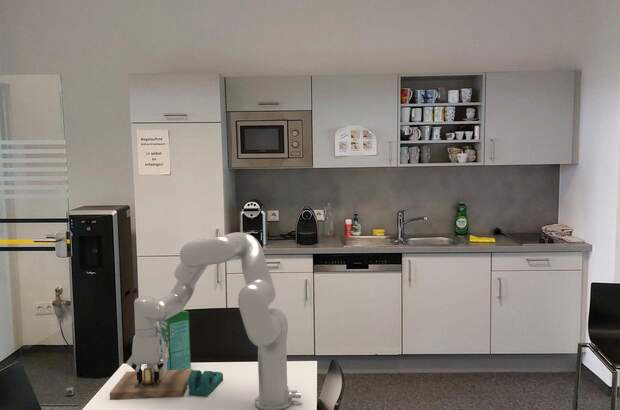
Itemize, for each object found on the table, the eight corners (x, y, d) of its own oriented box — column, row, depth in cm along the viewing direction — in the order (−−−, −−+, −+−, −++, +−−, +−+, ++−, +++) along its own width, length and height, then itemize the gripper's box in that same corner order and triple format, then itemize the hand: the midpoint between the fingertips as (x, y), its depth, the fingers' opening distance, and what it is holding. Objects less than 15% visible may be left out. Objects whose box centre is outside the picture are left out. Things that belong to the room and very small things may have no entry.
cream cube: (163, 377, 201) (163, 361, 201) (147, 377, 201) (146, 361, 201) (167, 371, 207) (166, 355, 207) (151, 371, 207) (150, 356, 207)
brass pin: (152, 392, 194) (151, 370, 193) (143, 392, 194) (142, 370, 193) (154, 388, 197) (153, 367, 196) (145, 389, 197) (144, 367, 196)
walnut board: (192, 375, 209) (192, 369, 209) (183, 397, 189) (182, 390, 189) (126, 378, 208) (126, 371, 208) (110, 399, 188) (109, 392, 188)
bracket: (207, 397, 189) (206, 375, 188) (188, 396, 190) (188, 374, 190) (225, 378, 206) (225, 357, 206) (208, 377, 208) (208, 356, 207)
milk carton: (191, 367, 217) (188, 306, 216) (170, 373, 211) (167, 310, 210) (179, 362, 224) (177, 302, 222) (159, 368, 218) (157, 306, 216)
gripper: (172, 327, 198) (174, 376, 199) (125, 329, 197) (127, 378, 198) (168, 334, 191) (170, 384, 192) (118, 335, 190) (121, 386, 191)
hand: (148, 381), depth 195 cm, fingers open, 4 cm apart
